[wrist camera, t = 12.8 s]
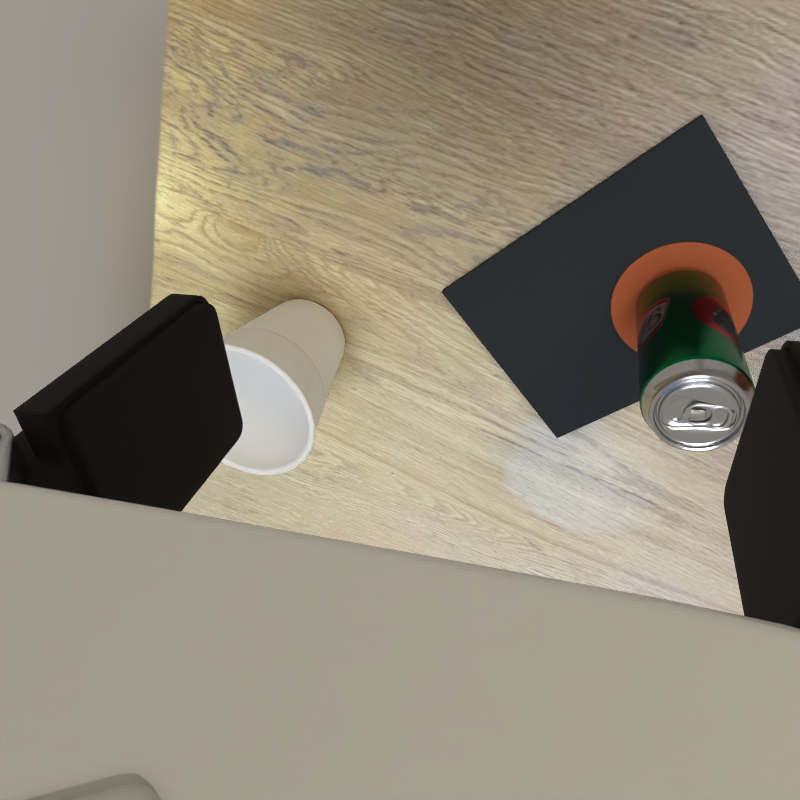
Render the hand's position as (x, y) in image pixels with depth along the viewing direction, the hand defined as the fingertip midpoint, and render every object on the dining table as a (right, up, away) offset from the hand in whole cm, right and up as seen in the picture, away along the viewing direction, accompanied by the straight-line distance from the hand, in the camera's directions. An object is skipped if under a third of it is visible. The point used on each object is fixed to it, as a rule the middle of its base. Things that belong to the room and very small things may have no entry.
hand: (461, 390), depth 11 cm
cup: (-8, +5, +38) cm, 39 cm away
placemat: (+13, +6, +29) cm, 33 cm away
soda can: (+16, +6, +28) cm, 33 cm away
